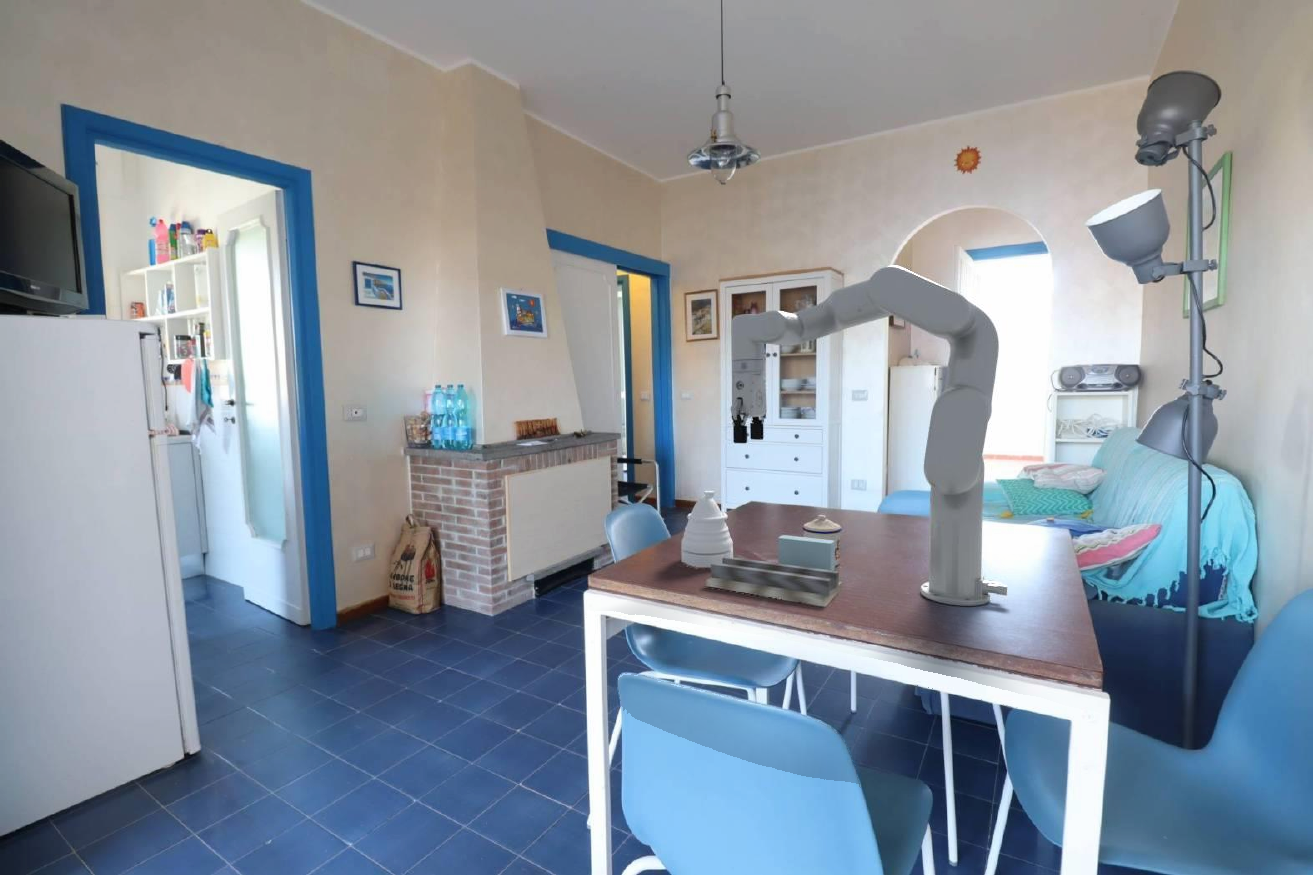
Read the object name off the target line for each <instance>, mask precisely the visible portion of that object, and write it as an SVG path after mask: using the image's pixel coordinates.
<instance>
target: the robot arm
mask: <svg viewBox="0 0 1313 875" xmlns="http://www.w3.org/2000/svg"><path fill="white" fill-rule="evenodd" d="M892 316H894V317H896V318H897V319H900V320H902V321H904V322H906V323H908V324H909V325H912V326H914V327H915V328H918V329H921V330H922V331H924V332H926V333H928V334H930V335H932V336H933V337H934V336H935V337H937V338H939V339H940V338H941V339H944V340H946V341H947V342H948V344H949V349H950V352H949V357H948V362H947V363H948V364H947V371H946V379H945V385H944V390H943V392H942V393H940V395H939V396H938V397H937V398H936V400H935V402H934V404H933V407H932V409H931V410H932V411H931V415H930V421H929V426H928V427H929V428H928V434H927V440H926V441H927V442H926V447H925V453H924V459H923V474H924V477H925V479H926V481H927V483H928V484H929V486H930V497H929V539H928V540H929V541H928V542H929V547H928V548H929V550H928V551H929V554H928V556H929V557H928V558H929V559H928V560H929V561H928V562H929V564H928V571H929V572H928V581H927V582H924V583H923V584H921V586H920V593H921V595H922V596H923V597H925V598H926V599H929V600H931V601H933V602H938V603H941V604H945V605H952V606H960V607H961V606H962V607H963V606H964V607H966V606H967V607H970V606H971V607H974V606H981V605H985V604H987V603H989V602H990V600H991V594H995V595H1000V596H1008V585H1006V584H1002V583H1001V582H998V581H988V579H985V573H984V572H983V573H982V569H983V568H982V566H983V565H982V561H983V560H982V558H983V556H982V555H983V517H984V516H983V512H984V508H983V507H984V504H983V503H984V486H985V483H984V482H985V462H984V457H983V455H984V454H983V453H984V448H985V442H986V436H987V430H988V425H989V421H990V420H991V417H992V412H993V407H992V406H993V405H992V402H993V395H994V388H995V382H996V375H997V374H996V373H997V366H998V358H999V350H1000V349H999V348H1000V347H999V345H1000V344H999V343H1000V342H999V334H998V332H997V328H996V327H995V325H994V323H993V321H992V319H991V318H990V316H989V315H988V314H987V313H985V311H983V310H982V309H981V308H979V306H976V305H975V304H973V303H972V302H970V301H969V300H968V299H967V298H966V297H965V296H964V295H962V294H960V293H959V292H957V291H955V290H953V289H950V288H949V287H946V286H944V285H941V284H938V283H937V282H934V281H932V280H930V279H927V277H923V276H920V275H919V274H916V273H914V272H913V271H910V270H908V269H906V268H905V267H902V266H900V265H888V266H884V267H883V266H882V267H881V268H879V269H878V270H876V271H875V272H874V273H872V275H871V276H870V278H869V279H867V280H866V279H865V280H864V281H860V282H856V283H854V284H850V285H847V286H844V287H840V288H838V289H835V290H833V291H832V292H831V293H830V294H829V295H828V296H827V298H826V299H825V300H824V301H822V302H821V303H818V304H816V305H813V306H811V307H808V308H804V309H802V310H798V311H795V312H787V311H782V310H775V309H774V310H769V311H764V312H759V313H756V314H755V313H754V314H753V313H747V314H738V315H735V316H734V317H733V318H732V320H731V375H732V376H733V378H732V379H733V382H732V393H731V394H732V396H731V397H732V398H731V399H732V401H731V402H732V405H731V407H730V413H731V420H732V423H731V424H732V427H733V429H732V431H733V433H732V434H733V435H732V436H733V437H732V438H733V443H734V444H747V443H748V425H746V424H747V421H748V417H749V419H750V423H749V424H750V425H749V427H750V429H749V430H750V431H749V433H750V435H749V436H750V437H749V438H750V439H751V440H752V441H753V440H755V441H756V440H758V441H759V440H760V441H762V440H764V438H765V436H764V423H765V418H764V417H765V415H766V414H767V410H768V409H767V394H766V391H767V390H766V384H765V383H766V381H765V376H764V375H765V344H768V345H775V346H783V347H791V346H797V345H799V344H803V343H807V342H810V341H811V342H812V341H814V340H818V339H821V338H823V337H827V336H830V335H831V334H832V335H833V334H835V333H838V332H841V331H843V330H846V329H850V328H853V327H856V326H860V325H863V324H866V323H867V324H868V323H869V322H873V321H877V320H881V319H884V318H888V317H892Z"/></svg>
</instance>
